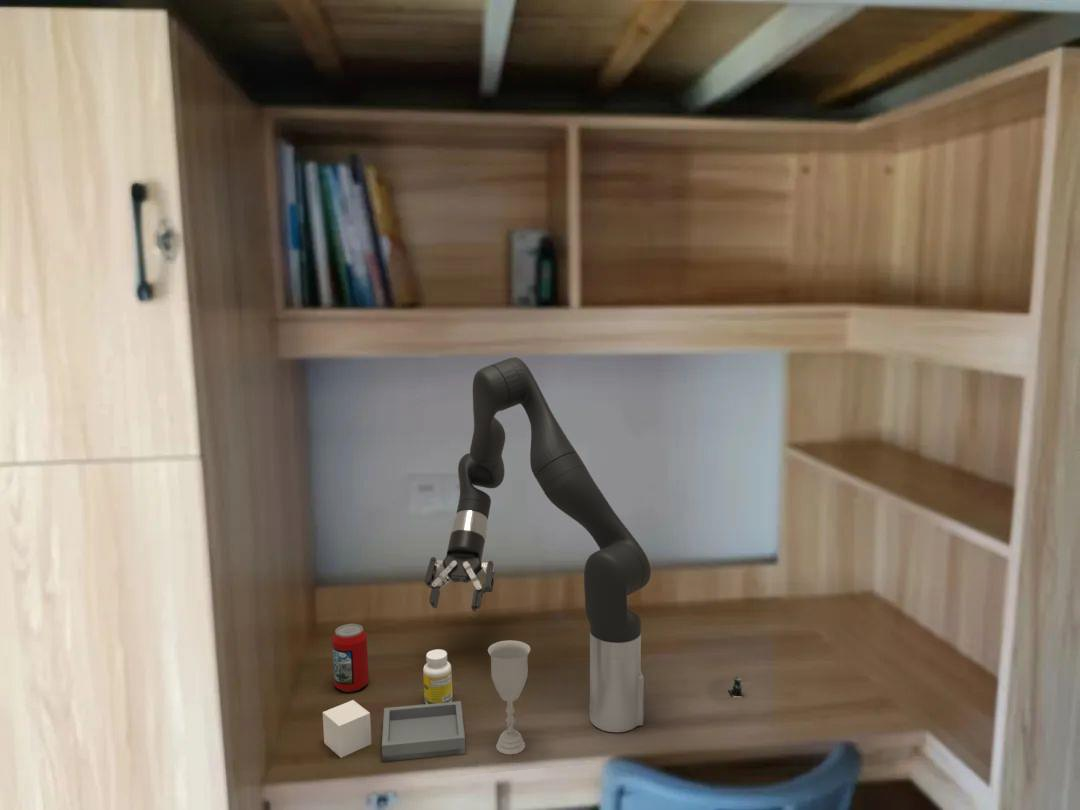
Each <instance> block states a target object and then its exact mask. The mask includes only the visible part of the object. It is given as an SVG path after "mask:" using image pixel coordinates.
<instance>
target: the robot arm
mask: <svg viewBox="0 0 1080 810" xmlns="http://www.w3.org/2000/svg"><path fill="white" fill-rule="evenodd" d="M517 405H521V406H522V408H523V409H524V411H525V413H526V415H527V417H528V421H529V423H530V424H529V425H530V431H531V432H530V434H531V435H530V452H529V458H530V459H529V461H530V468H531V469H530V470H531V472H532V474H533V476H534V477H535V480H536V481H537V482H538V484H539V486H540V488H541V490H542V491H543V493H544V495H545V496H546V497H547V499H548V500H549V501H550V502H551V504H553V506H555V507H556V508H557V509H559V510H560V511H561V512H563V513H564V514H565V515H567V516H568V517H570V518H571V519H572V520H574V521H576V522H577V523H578V524H579V525H581V527H583V529H585V530H586V531H587V532H588V533H589V534H590V536H591V537H592V539H593V540H594V542H595V543H596V546H598V548H599V550H596V551H594V552H593V553H592V554H590V555H589V556H588V558H587V560H586V562H585V565H584V572H583V586H584V589H583V590H584V607H585V614H586V618H587V620H588V623H589V720H590V722H591V724H592V725H594V727H595V728H597V729H599V730H602V731H604V732H610V733H625V732H629V731H631V730H633V729H635V728H637V727H638V726H639V727H640V726H644V698H645V696H644V695H645V694H644V691H645V690H644V689H645V687H644V685H645V683H644V681H645V680H644V675H643V673H642V671H641V665H642V664H641V661H642V659H641V658H642V656H641V655H642V654H641V653H642V652H641V649H642V643H641V642H642V621H641V618H640V616H639V615H638V614H637V613H636V612H635V611H632V610H630V609H628V596H630V595H631V594H633V593H636V592H637V591H640V590H641V589H643V588H644V587H645V586H646V585H648V583H649V581H650V578H651V573H652V571H651V565H650V561H649V558H648V556H647V555H646V552H645V551H644V549H643V548H642V547H641V545H640V544H639V542H638V541H637V540H636V538H635V537H634V535H633V534H632V533H631V532H630V531H629V529H628V527H626V525H625V524H624V522H622V520H621V519H620V518H619V516H618V515H617V514H616V511H614V509H613V507H612V506H611V505H610V503H609V502H608V500H607V499H606V497H605V495H604V494H603V493H602V491H601V490H600V488H599V487H598V485H597V484H596V482H595V481H594V479H593V477H592V476H591V474H590V472H589V469H588V468H587V466H586V465H585V463H584V462H583V460H582V458H581V456H580V455H579V453H578V452H577V450H576V449H575V448H574V446H573V445H572V442H571V441H570V440H569V438H568V437H567V435H566V434H565V431H564V430H563V429H562V427H561V426H560V424H559V422H558V421H557V418H556V417H555V416H554V415H555V414H554V413H553V412H552V410H551V408H550V407H549V404H548V403H547V401H546V398H545V396H544V394H543V392H542V390H541V389H540V387H539V384H538V382H537V381H536V379H535V377H534V375H533V374H532V372H531V370H530V369H529V366H528V365H527V364H526V363H525V362H524V361H523V360H522V359H520V358H518V357H513V356H512V357H510V358H506V359H503V360H500V361H497V362H495V363H492V364H489V365H487V366H484V367H482V368H480V369H478V370H477V371H476V373H475V374H474V376H473V380H472V409H473V410H472V412H473V413H472V414H473V434H472V439H471V444H470V448H469V453H466V454H464V455H462V457H461V458H460V460H459V462H458V466H457V472H458V473H457V474H458V482H459V499H458V505H457V508H456V509H457V510H456V514H455V517H454V520H453V523H452V527H451V531H450V536H449V541H448V545H447V551H446V556H445V557H444V559H443V560H442V559H437V557H435V556H432V557H430V559H429V563H428V566H427V570H426V574H425V576H424V579H423V581H424V584H425V585H426V586H427V588H428V589H431V590H430V595H429V599H428V600H429V604H430V605H431V607H432V608H433V609H437V608H438V604H439V600H440V595H441V591H440V590H442V588H444V586H447V585H448V584H449V583H450V582H454V583H459V582H462V583H466V584H467V583H468V582H471V583H472V584H473V586H474V588H475V590H473V595H472V599H471V600H472V601H471V607H470V608H471V611H472V612H478V611H477V610H479V609H480V608H481V605H482V601H483V599H482V598H483V595H484V594H486V593H491V592H493V590H494V583H495V582H494V581H495V574H496V566H495V564H494V561H493V560H488V561H487V562H482V560H483V555H484V554H483V553H484V548H485V542H486V539H487V533H488V521H489V520H488V519H489V514H490V509H491V505H492V499H491V496H490V495H489V494H488V493H486V492H485V491H483V490H481V489H479V488H477V487H482V488H486V489H496V488H498V487H499V486H500V485H502V483H503V481H504V477H505V465H504V460H503V456H502V455H503V450H504V447H505V442H506V431H505V429H504V427H503V424H502V423H501V422H500V421H499V420H498V419H497V418H496V417H495V415H496V414H497V413H499V412H502V411H505V410H508V409H510V408H512V407H515V406H517ZM475 486H476V487H475ZM442 567H443V568H444V569H443V570H442V571H441V572H440V573H439V575H438V577H437V578H436V576H437V572H438V571H440V569H441V568H442ZM482 570H483V571H484V573H485V582H484V583H483V584H481V582H480V580H479V579H478V577H477V575H478V574H479V573H480V572H481V571H482Z"/></svg>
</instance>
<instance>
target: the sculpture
mask: <svg viewBox="0 0 1080 810" xmlns="http://www.w3.org/2000/svg"><path fill="white" fill-rule="evenodd" d="M733 680H734V683H733V685H732V689H727V693H728V694H729V696H730V697H731V698H744V697H745V695H744V693H743V690H742V689H743V685H741V682H742V679H741V678H740V677H739V676H735V678H733Z"/></svg>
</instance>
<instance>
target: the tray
mask: <svg viewBox="0 0 1080 810" xmlns="http://www.w3.org/2000/svg"><path fill="white" fill-rule="evenodd" d="M462 710H463V709H462V701H461V700H458V701H451V702H445V703H434V704H426V703H424V704H423V703H422V704H415V705H403V706H402V705H401V706H392V707H383V723H382V736H381V737H382V738H381V740H382V741H381V756H382V757H381V759H382V763H385V762H395V761H404V760H405V761H406V760H415V759H416V760H417V759H424V758H425V759H426V758H434V757H435V758H436V757H445V756H455V755H456V756H457V755H464V754H466V737H465V735H466V734H465V727H464V718H463V711H462Z"/></svg>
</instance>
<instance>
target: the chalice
mask: <svg viewBox="0 0 1080 810" xmlns="http://www.w3.org/2000/svg"><path fill="white" fill-rule="evenodd" d="M530 646H531V645H528V644H527V643H525V642H523V641H519V640H511V639H510V640H501V641H497V642H495V643H493V644H491V645H490V646H489V647H488V649H487V652H488V654H489V656H490V662H491V663H490V665H491V666H490V669H491V670H490V671H491V673H490V674H491V680H492V681H493V684H494V687H495V689H496V691H497V693H498V694H499V697H500V698H501V699H502V700H503V701H504V702H506V703H507V704H506V705H507V706H506V708H505V712H506V715H507V716H506V718H505V720H504V722H505V723H506V724H507V728H506V729H505V730H503V731H502V733H500V736H499V738H498V740H497V743H496V745H495V746H496V750H497V751H498V752H500V753H501V754H505V755H516V754H519V753H521V752H522V751H524V749H526V748H525V747H526V743H525V741H524V739H523V737H522V734H521V733H520V732H519V731H518V730H517V729H514V723H515V722H516V718H514V713H515V711H516V710H515V708H514V705H513V704H514V701H517V700H518V699H519V698H520V695H521V694H522V691H523V689H524V687H525V684H526V681H527V678H528V676H529V675H528V673H529V672H528V661H529V660H528V656H529V654H530V652H531V647H530Z"/></svg>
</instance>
